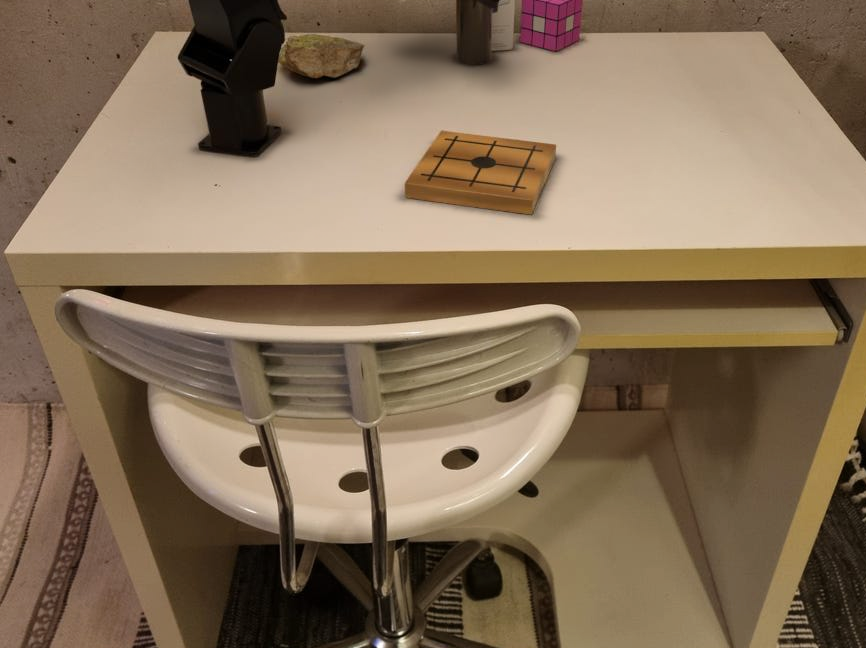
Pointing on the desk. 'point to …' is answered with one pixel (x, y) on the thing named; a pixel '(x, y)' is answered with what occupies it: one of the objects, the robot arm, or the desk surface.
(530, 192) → the game board
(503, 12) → the ink box
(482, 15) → the black round pillar
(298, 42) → the rock
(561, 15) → the puzzle toy
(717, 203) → the desk surface
